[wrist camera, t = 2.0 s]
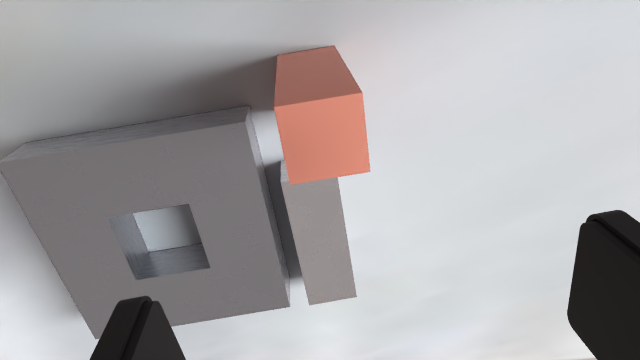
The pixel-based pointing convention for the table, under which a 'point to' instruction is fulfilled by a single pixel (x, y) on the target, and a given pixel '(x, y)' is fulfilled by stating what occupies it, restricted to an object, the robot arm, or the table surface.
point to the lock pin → (319, 116)
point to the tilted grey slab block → (319, 238)
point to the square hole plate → (148, 194)
